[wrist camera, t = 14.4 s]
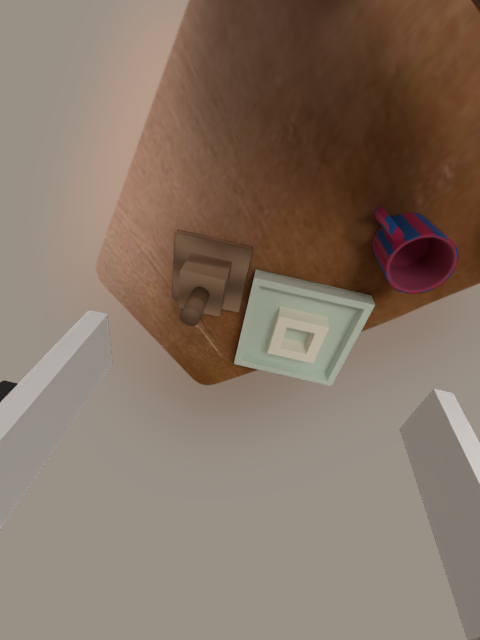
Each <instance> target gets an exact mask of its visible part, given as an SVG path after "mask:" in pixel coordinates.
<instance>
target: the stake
mask: <svg viewBox="0 0 480 640" xmlns="http://www.w3.org/2000/svg"><path fill="white" fill-rule="evenodd" d="M252 250H253V247H251V246H246V245H242V244H237V243H233V242H229V241H224V240H220V239H215V238H211V237H207V236H202V235H198V234H193V233H189V232H185V231H180V230H177V232H176V234H175V252H174V271H173V290H172V298H176V299H178V308H182V309H183V310H182V312H181V314H180V319H181V321H182V322H183V323H185V324H186V325H189V326H194V325H196V324H198V322H199V320H200V318H201V315H202V313H204V314H209V315H213V316H217V317H219V316H220V313H221V310H222V309H224V310H228V311H233V312H237V313H239V309H240V305H241V300H242V296H243V291H244V287H245V282H246V277H247V273H248V268H249V264H250V259H251V254H252Z"/></svg>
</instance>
